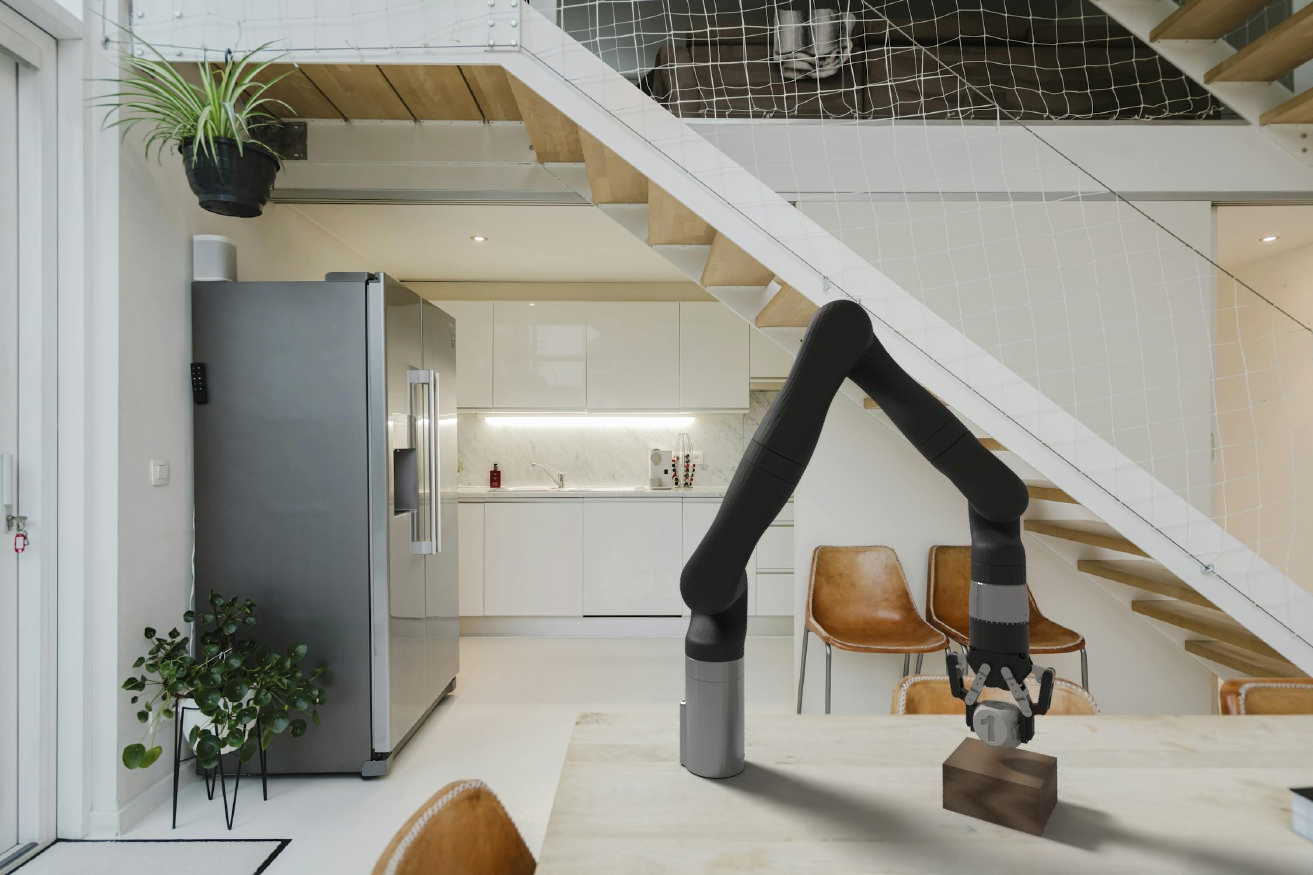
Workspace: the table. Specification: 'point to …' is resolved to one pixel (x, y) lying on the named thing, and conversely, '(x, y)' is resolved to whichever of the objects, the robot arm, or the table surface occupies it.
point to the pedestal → (1001, 785)
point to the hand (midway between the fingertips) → (999, 735)
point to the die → (998, 723)
